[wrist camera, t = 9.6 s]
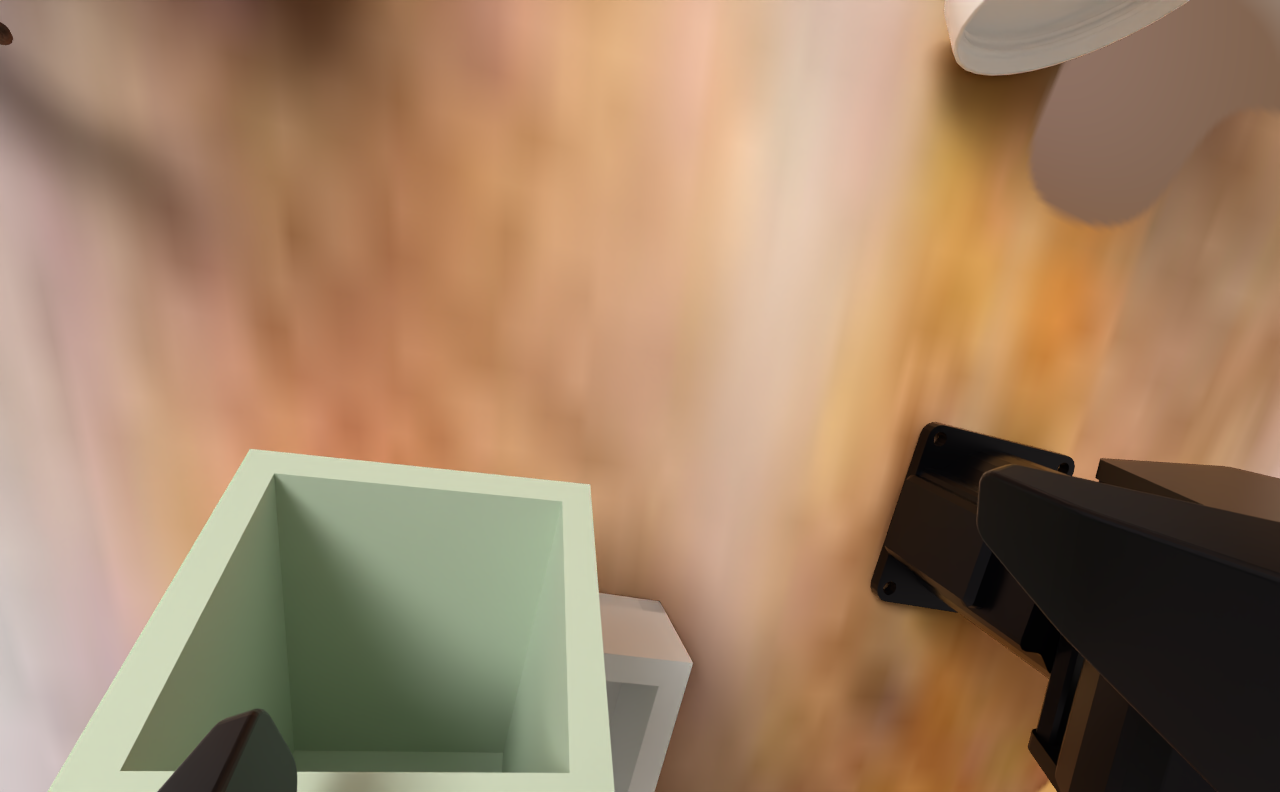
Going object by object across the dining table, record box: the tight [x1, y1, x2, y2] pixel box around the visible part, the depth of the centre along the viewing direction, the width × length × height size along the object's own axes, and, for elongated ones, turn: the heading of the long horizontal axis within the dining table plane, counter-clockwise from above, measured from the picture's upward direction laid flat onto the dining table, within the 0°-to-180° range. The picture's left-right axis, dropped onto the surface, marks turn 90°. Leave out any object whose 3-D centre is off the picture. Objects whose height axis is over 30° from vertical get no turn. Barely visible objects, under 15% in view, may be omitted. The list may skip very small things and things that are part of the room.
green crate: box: [48, 449, 615, 792], centre depth 13 cm, size 6×6×10 cm
